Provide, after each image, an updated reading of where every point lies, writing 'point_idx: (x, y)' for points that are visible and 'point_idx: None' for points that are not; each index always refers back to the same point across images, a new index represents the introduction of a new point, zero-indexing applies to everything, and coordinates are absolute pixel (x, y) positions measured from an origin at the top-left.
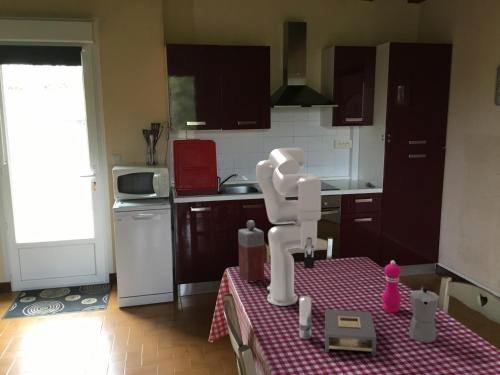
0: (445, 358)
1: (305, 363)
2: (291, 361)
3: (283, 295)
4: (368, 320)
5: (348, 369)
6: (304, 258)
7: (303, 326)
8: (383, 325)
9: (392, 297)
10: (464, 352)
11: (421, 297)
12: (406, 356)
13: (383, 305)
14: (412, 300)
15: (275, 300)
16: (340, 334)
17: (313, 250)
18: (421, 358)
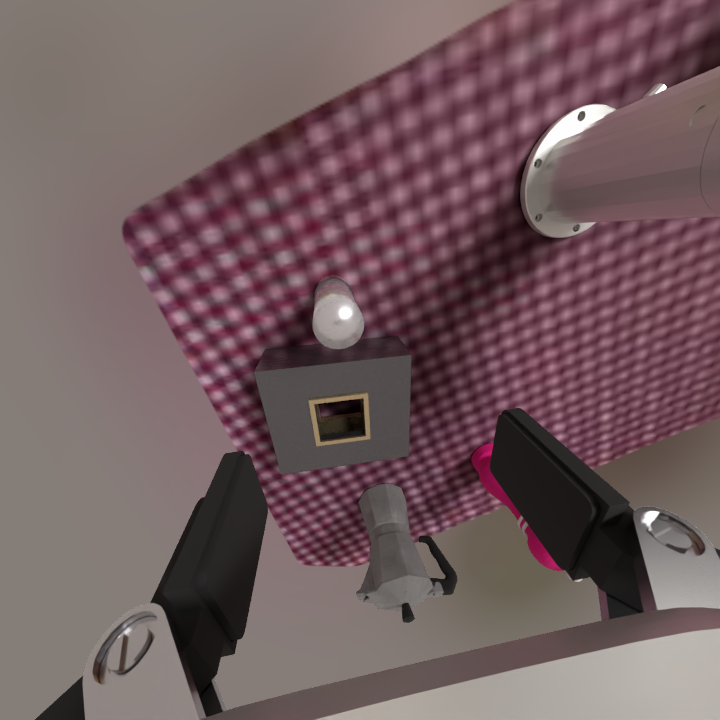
0: (314, 524)
1: (194, 309)
2: (186, 271)
3: (558, 183)
4: (361, 455)
5: (213, 400)
6: (180, 560)
7: (314, 296)
8: (415, 446)
9: (489, 486)
10: (340, 541)
11: (384, 594)
12: (303, 482)
13: (491, 450)
14: (393, 566)
15: (552, 150)
16: (265, 407)
17: (545, 543)
18: (303, 499)
